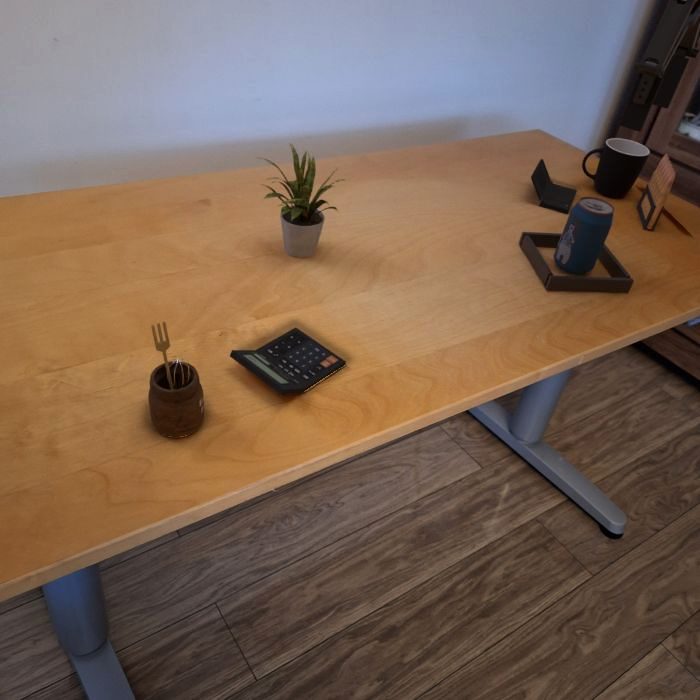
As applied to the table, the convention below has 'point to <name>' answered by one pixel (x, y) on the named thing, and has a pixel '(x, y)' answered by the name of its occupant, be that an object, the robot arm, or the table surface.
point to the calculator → (289, 362)
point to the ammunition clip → (656, 194)
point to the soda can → (584, 236)
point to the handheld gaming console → (551, 191)
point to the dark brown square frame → (574, 283)
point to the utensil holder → (174, 393)
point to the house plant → (301, 208)
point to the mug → (617, 166)
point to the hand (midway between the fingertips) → (644, 116)
